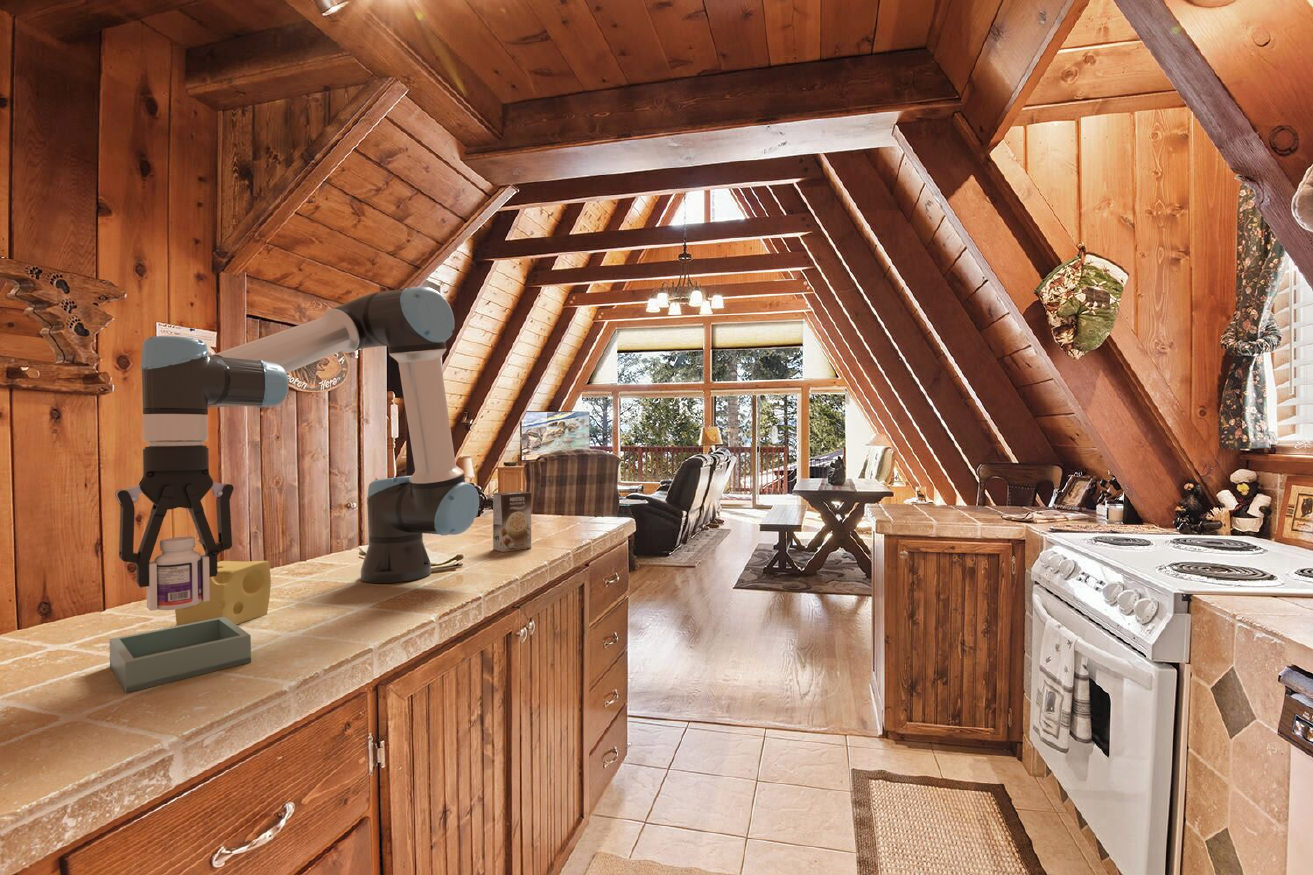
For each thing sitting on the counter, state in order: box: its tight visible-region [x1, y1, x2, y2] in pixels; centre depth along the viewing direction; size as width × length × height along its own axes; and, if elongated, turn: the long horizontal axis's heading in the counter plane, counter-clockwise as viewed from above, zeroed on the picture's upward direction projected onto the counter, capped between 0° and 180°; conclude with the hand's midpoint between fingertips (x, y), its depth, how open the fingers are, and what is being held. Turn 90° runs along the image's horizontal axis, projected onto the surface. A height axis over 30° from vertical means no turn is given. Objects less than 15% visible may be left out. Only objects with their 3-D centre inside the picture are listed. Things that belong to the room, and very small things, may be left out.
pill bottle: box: [153, 536, 202, 611], centre depth 89 cm, size 5×5×10 cm
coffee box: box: [492, 491, 532, 553], centre depth 176 cm, size 9×6×16 cm
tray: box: [108, 617, 252, 694], centre depth 90 cm, size 14×14×4 cm
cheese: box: [174, 560, 272, 626], centre depth 111 cm, size 10×11×10 cm
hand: (178, 603), depth 89 cm, fingers closed on pill bottle, 5 cm apart
